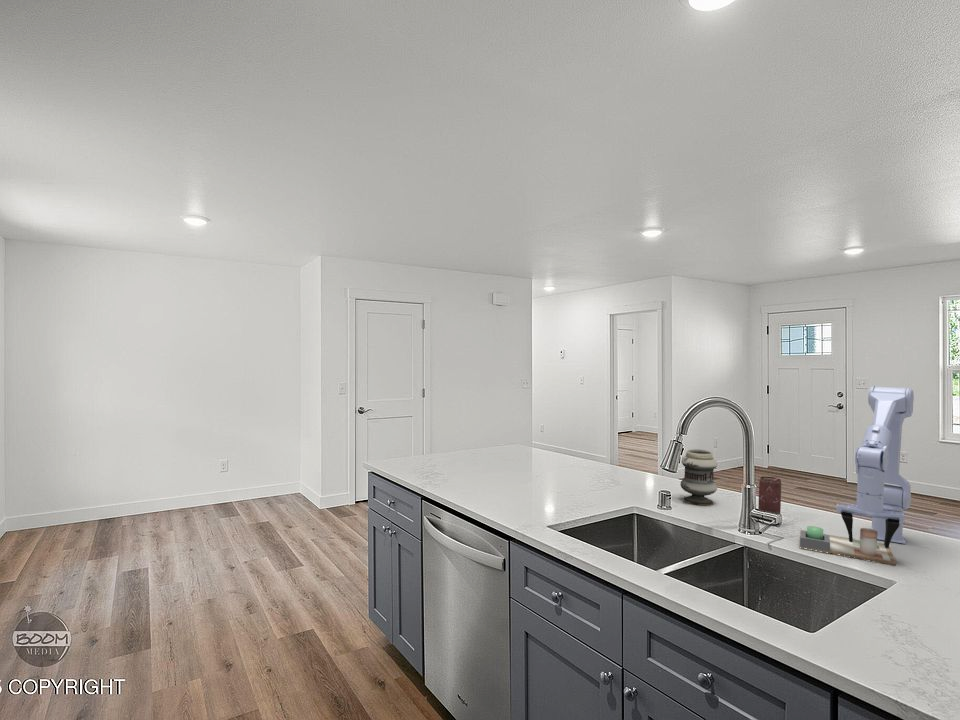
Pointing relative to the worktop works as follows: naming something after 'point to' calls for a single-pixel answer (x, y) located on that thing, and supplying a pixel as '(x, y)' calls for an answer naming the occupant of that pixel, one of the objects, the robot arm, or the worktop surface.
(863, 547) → the marker
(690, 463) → the apothecary jar
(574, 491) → the worktop surface
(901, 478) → the robot arm
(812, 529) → the button
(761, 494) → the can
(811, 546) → the button housing
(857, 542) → the board
